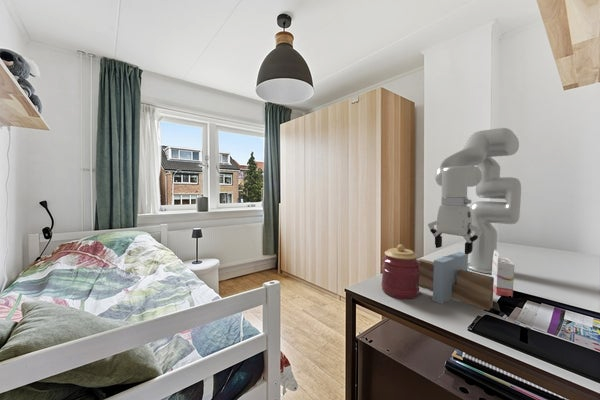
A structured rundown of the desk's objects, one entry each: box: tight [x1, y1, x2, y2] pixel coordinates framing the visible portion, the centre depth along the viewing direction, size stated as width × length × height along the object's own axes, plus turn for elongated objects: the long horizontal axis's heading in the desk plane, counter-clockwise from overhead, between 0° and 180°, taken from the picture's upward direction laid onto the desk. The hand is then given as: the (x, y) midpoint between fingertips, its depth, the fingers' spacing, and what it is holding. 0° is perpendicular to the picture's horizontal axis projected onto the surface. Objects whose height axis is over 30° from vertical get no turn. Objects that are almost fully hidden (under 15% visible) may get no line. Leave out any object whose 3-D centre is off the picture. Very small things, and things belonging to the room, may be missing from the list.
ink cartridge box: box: [491, 250, 515, 298], centre depth 90 cm, size 9×5×15 cm, turn 152°
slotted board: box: [418, 258, 494, 312], centre depth 88 cm, size 3×24×10 cm, turn 34°
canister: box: [381, 243, 420, 300], centre depth 91 cm, size 13×13×18 cm
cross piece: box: [432, 251, 469, 305], centre depth 87 cm, size 18×3×14 cm, turn 124°
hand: (452, 250), depth 87 cm, fingers open, 9 cm apart
